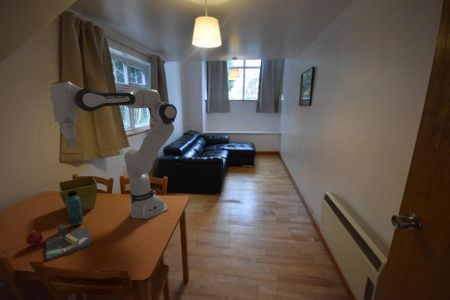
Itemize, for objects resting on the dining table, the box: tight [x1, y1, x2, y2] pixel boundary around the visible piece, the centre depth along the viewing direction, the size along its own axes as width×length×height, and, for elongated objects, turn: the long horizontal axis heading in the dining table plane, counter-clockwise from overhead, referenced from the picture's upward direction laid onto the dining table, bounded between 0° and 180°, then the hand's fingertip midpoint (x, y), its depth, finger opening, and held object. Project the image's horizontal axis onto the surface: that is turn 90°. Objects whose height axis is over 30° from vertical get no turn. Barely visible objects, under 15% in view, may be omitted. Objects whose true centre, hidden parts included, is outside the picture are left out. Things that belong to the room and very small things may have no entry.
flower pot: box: [57, 175, 98, 212], centre depth 136 cm, size 19×19×17 cm
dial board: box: [45, 227, 93, 262], centre depth 103 cm, size 17×16×1 cm
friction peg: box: [56, 223, 79, 246], centre depth 102 cm, size 2×15×6 cm, turn 61°
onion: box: [25, 230, 44, 247], centre depth 101 cm, size 6×6×8 cm
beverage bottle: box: [66, 190, 84, 226], centre depth 117 cm, size 6×7×20 cm
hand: (70, 146), depth 103 cm, fingers open, 8 cm apart
